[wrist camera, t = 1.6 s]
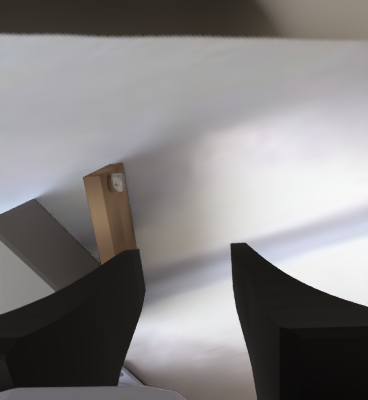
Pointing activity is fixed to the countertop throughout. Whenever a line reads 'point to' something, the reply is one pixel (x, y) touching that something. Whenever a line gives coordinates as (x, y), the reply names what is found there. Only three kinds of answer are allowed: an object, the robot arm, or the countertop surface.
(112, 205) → the door
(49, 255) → the grey long block
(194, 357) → the countertop surface
